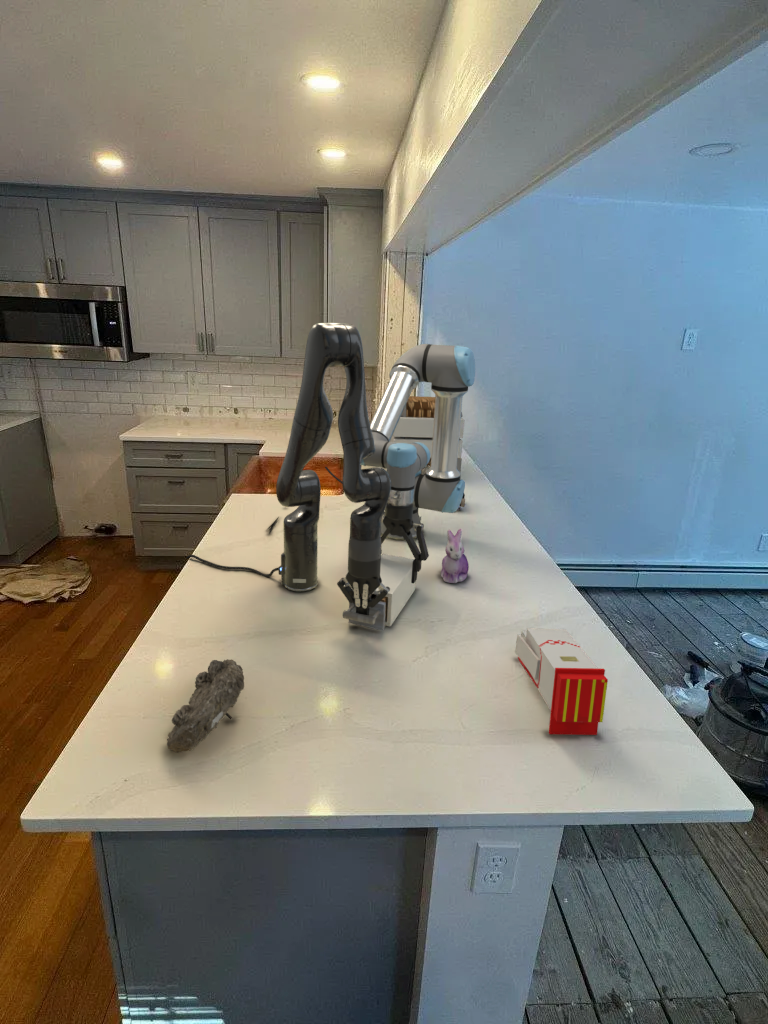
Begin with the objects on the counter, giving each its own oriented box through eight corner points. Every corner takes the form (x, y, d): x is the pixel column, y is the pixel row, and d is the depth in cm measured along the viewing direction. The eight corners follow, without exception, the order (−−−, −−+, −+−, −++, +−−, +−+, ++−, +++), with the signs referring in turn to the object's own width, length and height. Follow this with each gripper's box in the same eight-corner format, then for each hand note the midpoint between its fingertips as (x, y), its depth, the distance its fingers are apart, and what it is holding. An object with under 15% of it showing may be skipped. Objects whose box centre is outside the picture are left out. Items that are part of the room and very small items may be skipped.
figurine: (450, 587, 163) (454, 538, 158) (431, 572, 171) (435, 526, 166) (477, 581, 167) (482, 534, 162) (457, 567, 175) (461, 522, 170)
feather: (286, 511, 220) (288, 507, 220) (268, 535, 193) (271, 531, 193) (282, 508, 220) (285, 504, 219) (263, 533, 193) (266, 528, 193)
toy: (561, 612, 132) (617, 675, 103) (556, 665, 135) (608, 741, 106) (510, 611, 132) (551, 674, 102) (505, 664, 134) (544, 741, 105)
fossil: (192, 660, 117) (244, 628, 112) (224, 691, 120) (276, 661, 115) (142, 746, 98) (202, 712, 93) (182, 779, 101) (242, 748, 96)
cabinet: (390, 626, 141) (392, 594, 138) (352, 618, 145) (353, 586, 141) (415, 589, 161) (417, 559, 158) (381, 582, 164) (382, 553, 161)
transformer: (382, 463, 289) (386, 382, 275) (445, 464, 293) (451, 384, 279) (390, 482, 257) (394, 392, 243) (460, 483, 261) (468, 394, 247)
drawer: (375, 642, 133) (376, 615, 130) (339, 634, 136) (339, 607, 133) (408, 593, 156) (409, 570, 154) (377, 587, 159) (378, 564, 156)
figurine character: (465, 515, 224) (460, 499, 237) (467, 498, 221) (462, 483, 234) (448, 515, 224) (444, 499, 237) (450, 498, 220) (445, 482, 234)
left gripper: (331, 554, 128) (330, 621, 134) (386, 565, 124) (383, 633, 130) (344, 542, 135) (342, 606, 141) (397, 552, 131) (393, 617, 137)
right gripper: (354, 500, 151) (352, 575, 158) (437, 513, 144) (431, 591, 151) (364, 492, 157) (362, 564, 165) (444, 504, 150) (438, 579, 158)
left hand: (362, 619), depth 135 cm, fingers closed
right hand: (395, 577), depth 158 cm, fingers closed on cabinet, 10 cm apart
